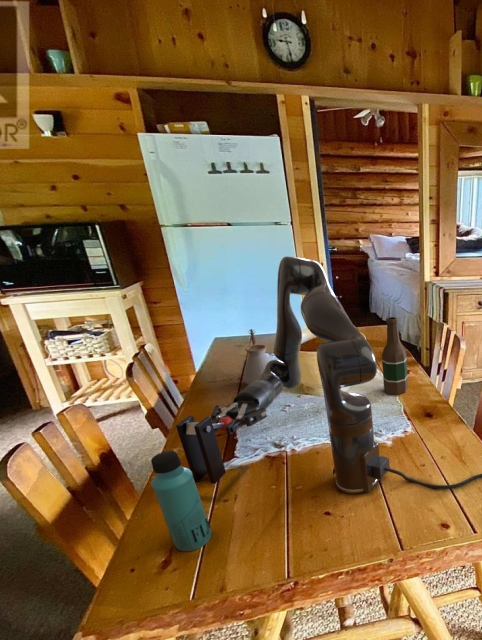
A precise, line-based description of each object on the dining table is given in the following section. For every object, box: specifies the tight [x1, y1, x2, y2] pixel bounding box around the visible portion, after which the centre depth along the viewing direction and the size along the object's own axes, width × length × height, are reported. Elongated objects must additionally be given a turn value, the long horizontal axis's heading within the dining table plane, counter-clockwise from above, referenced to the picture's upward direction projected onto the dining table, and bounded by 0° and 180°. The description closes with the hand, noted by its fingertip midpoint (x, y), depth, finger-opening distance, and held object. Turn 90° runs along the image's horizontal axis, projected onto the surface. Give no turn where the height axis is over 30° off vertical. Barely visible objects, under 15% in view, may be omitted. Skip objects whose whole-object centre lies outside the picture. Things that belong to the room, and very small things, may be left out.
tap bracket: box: [175, 415, 227, 485], centre depth 96 cm, size 12×10×16 cm
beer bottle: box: [381, 316, 409, 396], centre depth 138 cm, size 8×8×24 cm
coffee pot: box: [242, 328, 272, 386], centre depth 149 cm, size 21×12×15 cm, turn 25°
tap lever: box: [186, 417, 233, 435], centre depth 99 cm, size 14×4×4 cm, turn 173°
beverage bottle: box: [150, 450, 213, 552], centre depth 78 cm, size 6×7×20 cm
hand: (219, 430), depth 102 cm, fingers closed on tap lever, 3 cm apart
